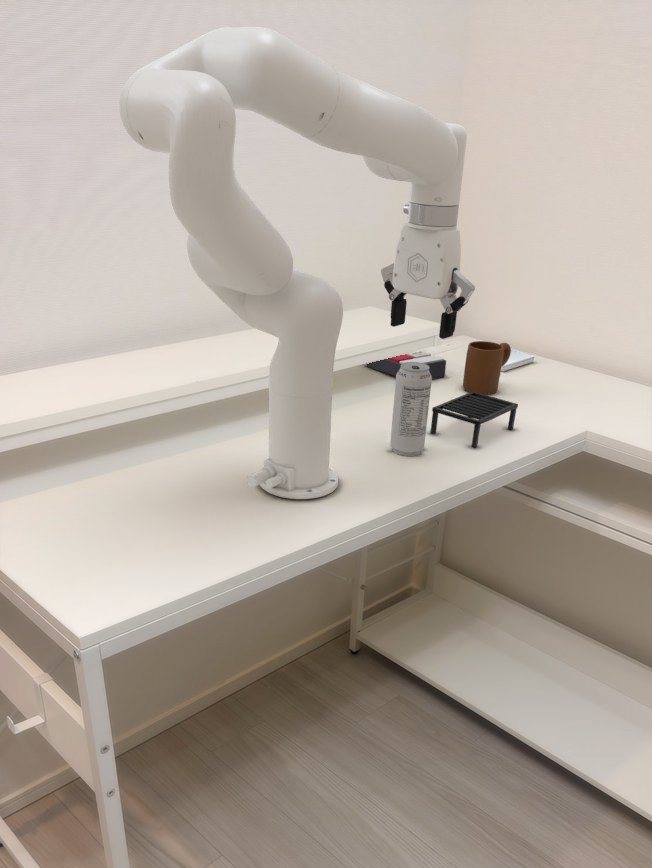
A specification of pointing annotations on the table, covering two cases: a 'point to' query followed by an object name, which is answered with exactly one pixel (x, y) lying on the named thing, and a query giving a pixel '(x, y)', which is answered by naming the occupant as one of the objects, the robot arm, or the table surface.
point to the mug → (484, 366)
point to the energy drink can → (410, 408)
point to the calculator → (394, 363)
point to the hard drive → (517, 360)
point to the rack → (475, 411)
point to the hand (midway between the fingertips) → (421, 331)
